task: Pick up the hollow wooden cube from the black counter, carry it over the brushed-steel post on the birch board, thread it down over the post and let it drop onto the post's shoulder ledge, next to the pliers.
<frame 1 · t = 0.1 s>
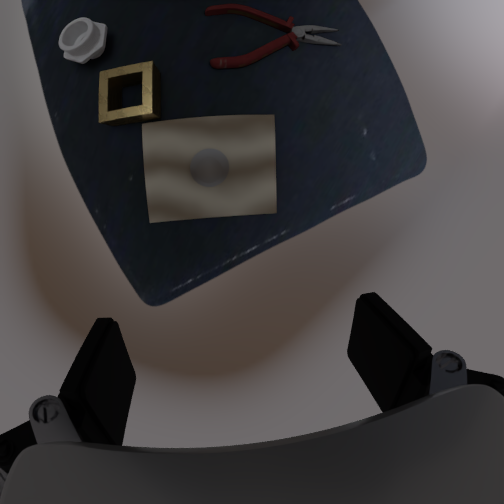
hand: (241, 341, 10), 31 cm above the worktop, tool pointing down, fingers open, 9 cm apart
post stand: (209, 166, 37), on the worktop
pliers: (268, 44, 32), on the worktop
pipe fitting: (96, 50, 28), on the worktop
hollow wooden cube: (136, 99, 32), on the worktop
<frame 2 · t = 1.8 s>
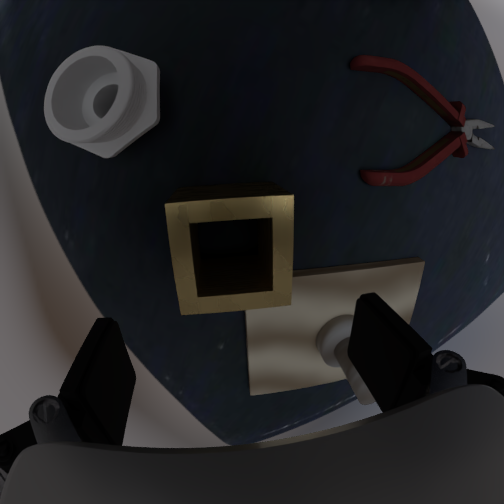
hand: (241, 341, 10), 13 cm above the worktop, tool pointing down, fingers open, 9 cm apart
post stand: (335, 328, 27), on the worktop
pliers: (427, 139, 21), on the worktop
pipe fitting: (129, 109, 17), on the worktop
hollow wooden cube: (227, 229, 22), on the worktop
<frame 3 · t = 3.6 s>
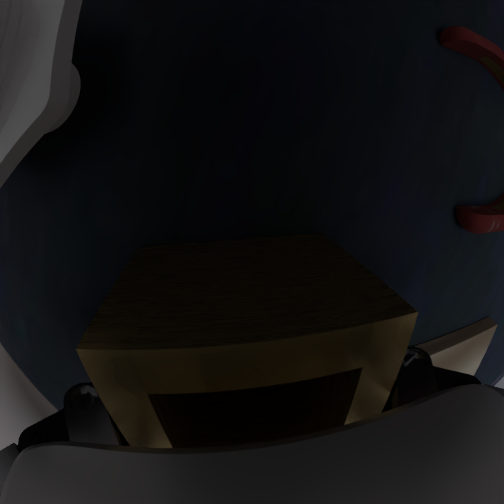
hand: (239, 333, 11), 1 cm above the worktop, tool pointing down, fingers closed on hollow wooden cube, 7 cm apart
post stand: (381, 416, 16), on the worktop
pipe fitting: (51, 96, 7), on the worktop
hollow wooden cube: (237, 319, 12), on the worktop, touching gripper
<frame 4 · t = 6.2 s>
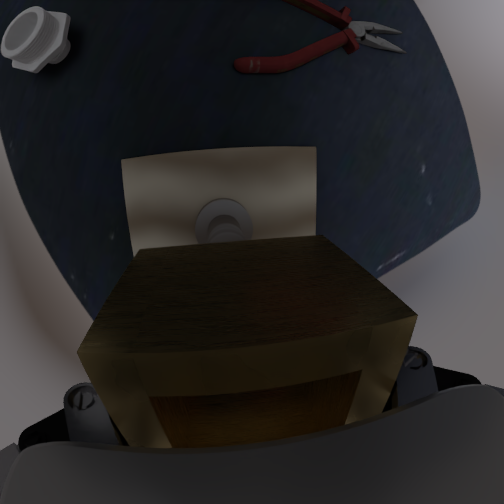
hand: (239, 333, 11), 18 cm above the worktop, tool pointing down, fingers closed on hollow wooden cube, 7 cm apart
post stand: (222, 221, 27), on the worktop
pliers: (314, 41, 22), on the worktop
pipe fitting: (59, 51, 18), on the worktop
hollow wooden cube: (237, 321, 12), point 17 cm above the worktop, touching gripper
when the fingers open (7 cm above the worktop, at t = 8.8 s): hollow wooden cube drops 3 cm, resting on post stand.
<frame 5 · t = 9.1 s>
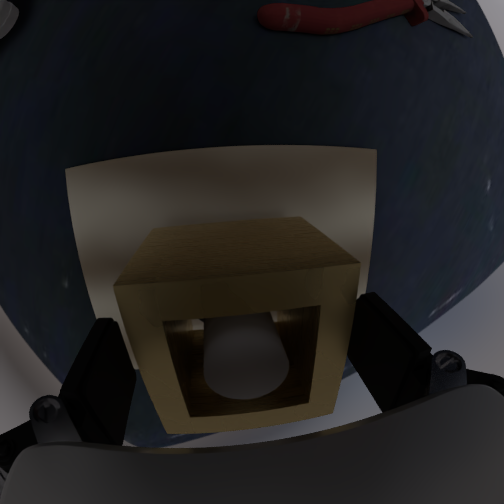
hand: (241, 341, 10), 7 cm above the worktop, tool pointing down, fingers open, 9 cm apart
post stand: (228, 265, 17), on the worktop
pliers: (368, 4, 13), on the worktop
pipe fitting: (6, 24, 8), on the worktop
hollow wooden cube: (232, 289, 14), point 3 cm above the worktop, touching post stand
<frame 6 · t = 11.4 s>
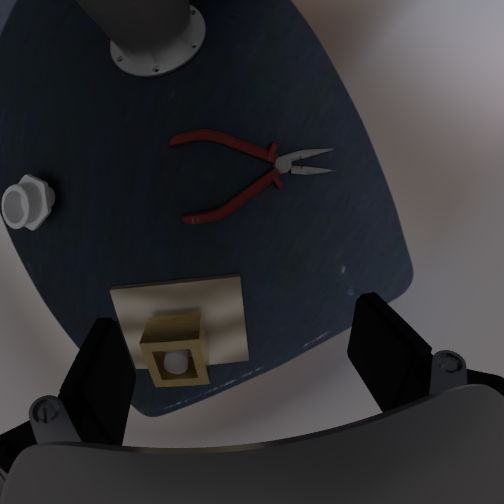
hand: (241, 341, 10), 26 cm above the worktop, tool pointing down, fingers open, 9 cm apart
post stand: (181, 324, 38), on the worktop
pliers: (248, 179, 34), on the worktop
pipe fitting: (47, 197, 31), on the worktop
hollow wooden cube: (179, 337, 35), point 3 cm above the worktop, touching post stand
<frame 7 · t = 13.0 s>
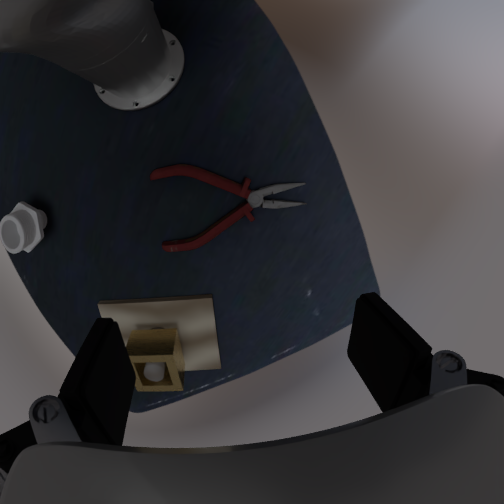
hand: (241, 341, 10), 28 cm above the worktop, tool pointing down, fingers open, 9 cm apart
post stand: (161, 335, 42), on the worktop
pliers: (223, 211, 38), on the worktop
pipe fitting: (40, 219, 33), on the worktop
hollow wooden cube: (158, 347, 39), point 3 cm above the worktop, touching post stand
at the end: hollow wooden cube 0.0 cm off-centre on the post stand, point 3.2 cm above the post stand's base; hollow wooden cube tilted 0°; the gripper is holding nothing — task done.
